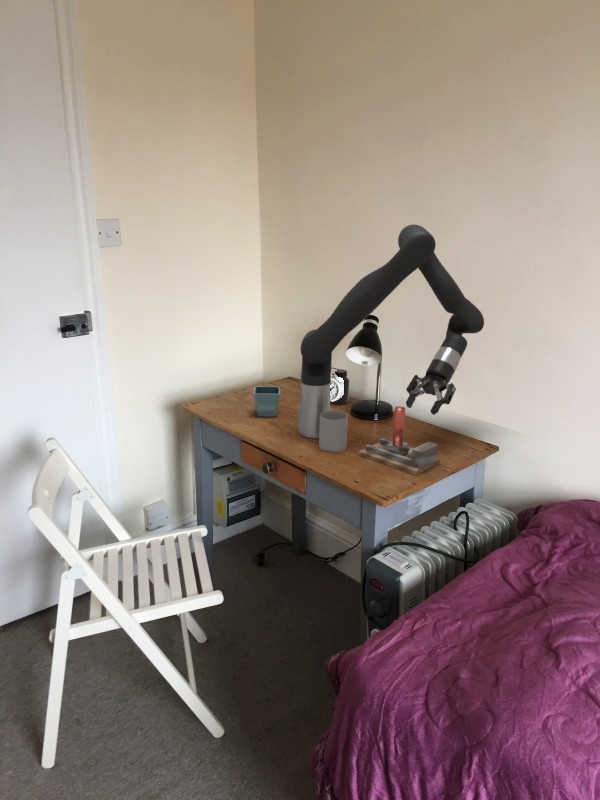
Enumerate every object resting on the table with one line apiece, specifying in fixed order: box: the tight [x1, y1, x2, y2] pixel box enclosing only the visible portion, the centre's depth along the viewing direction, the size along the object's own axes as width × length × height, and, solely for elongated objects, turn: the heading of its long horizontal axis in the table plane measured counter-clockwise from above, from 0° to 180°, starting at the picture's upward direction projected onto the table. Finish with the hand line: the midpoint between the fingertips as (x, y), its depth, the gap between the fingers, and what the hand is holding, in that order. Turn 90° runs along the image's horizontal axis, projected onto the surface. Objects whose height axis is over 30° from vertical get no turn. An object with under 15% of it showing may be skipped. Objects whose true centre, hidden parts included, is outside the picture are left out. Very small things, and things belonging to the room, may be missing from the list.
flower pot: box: [253, 385, 281, 418], centre depth 224 cm, size 9×9×9 cm
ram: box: [387, 406, 409, 456], centre depth 187 cm, size 4×5×14 cm
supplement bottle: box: [334, 368, 350, 405], centre depth 237 cm, size 7×7×12 cm
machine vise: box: [358, 437, 441, 476], centre depth 188 cm, size 20×12×6 cm, turn 47°
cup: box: [318, 410, 349, 452], centre depth 197 cm, size 8×8×10 cm
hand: (420, 409), depth 193 cm, fingers open, 8 cm apart
